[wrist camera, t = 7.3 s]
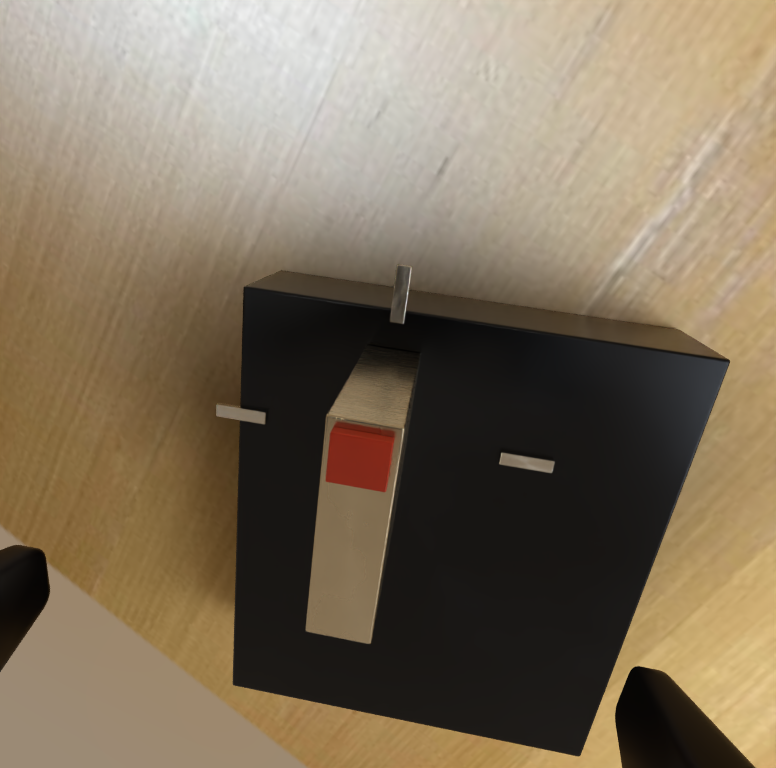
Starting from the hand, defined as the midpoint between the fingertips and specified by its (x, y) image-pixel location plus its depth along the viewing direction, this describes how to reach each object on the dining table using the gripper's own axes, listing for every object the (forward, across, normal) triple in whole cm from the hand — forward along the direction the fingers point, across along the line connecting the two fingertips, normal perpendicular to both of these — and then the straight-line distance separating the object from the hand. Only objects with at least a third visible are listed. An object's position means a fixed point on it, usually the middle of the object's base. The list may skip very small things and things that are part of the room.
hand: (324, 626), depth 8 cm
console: (+10, -2, +4) cm, 11 cm away
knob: (+7, 0, 0) cm, 7 cm away
